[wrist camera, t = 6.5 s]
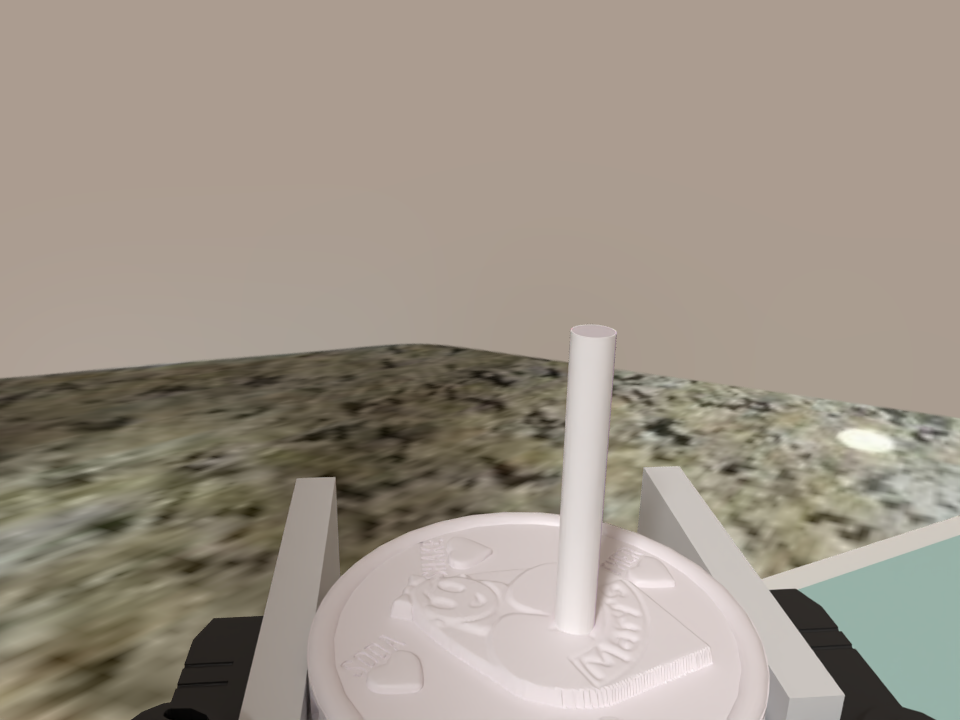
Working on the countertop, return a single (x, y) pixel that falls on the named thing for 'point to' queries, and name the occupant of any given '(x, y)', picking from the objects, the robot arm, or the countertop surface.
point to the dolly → (897, 611)
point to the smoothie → (537, 609)
